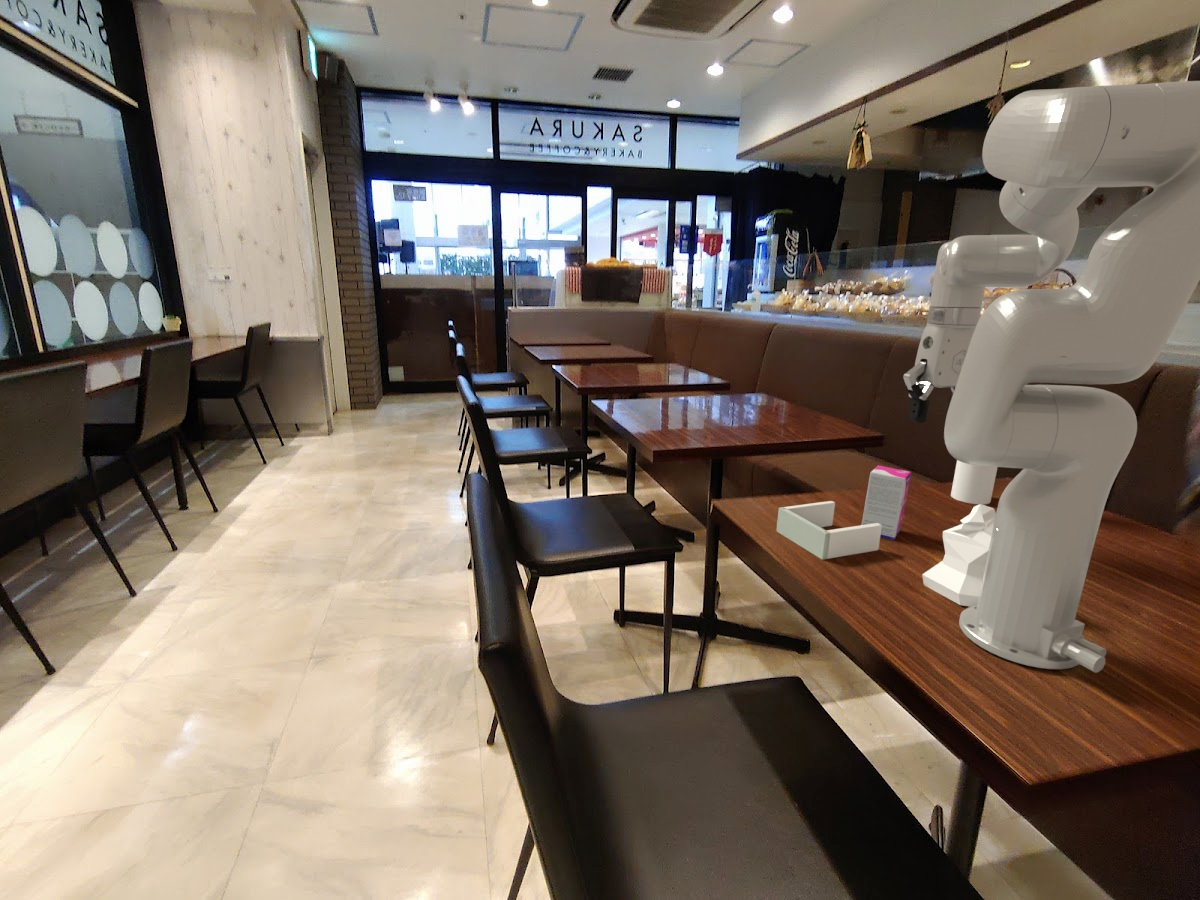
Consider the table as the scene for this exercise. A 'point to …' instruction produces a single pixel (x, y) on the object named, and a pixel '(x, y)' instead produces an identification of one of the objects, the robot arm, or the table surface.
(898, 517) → the supplement box
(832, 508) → the box
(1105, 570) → the table surface
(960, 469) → the cylindrical container
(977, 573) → the soft serve ice cream
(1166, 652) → the table surface
